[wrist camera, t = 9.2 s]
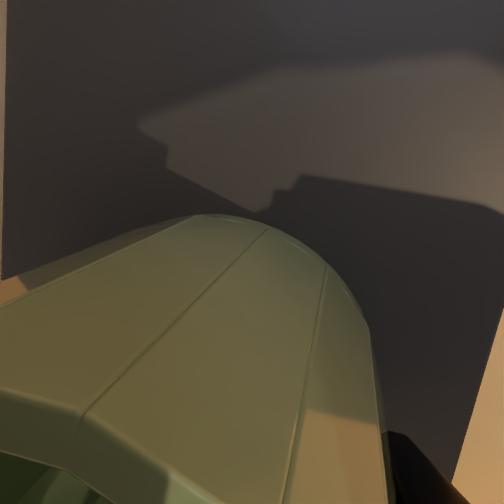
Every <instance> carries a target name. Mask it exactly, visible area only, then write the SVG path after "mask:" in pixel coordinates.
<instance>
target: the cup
mask: <svg viewBox="0 0 504 504" xmlns="http://www.w3.org/2000/svg"><path fill="white" fill-rule="evenodd" d="M0 504H397V501H396V493H395V486H394V478H393V471H392V463H391V456H390V448H389V441H388V433H387V426H386V418H385V411H384V403H383V396H382V388H381V383H380V378H379V374H378V369H377V364H376V358H375V350H374V345H373V341H372V337H371V334H370V330H369V327H368V324H367V322H366V319H365V317H364V315H363V313H362V310H361V308H360V306H359V304H358V302H357V301H356V299H355V298H354V296H353V294H352V293H351V291H350V289H349V288H348V286H347V285H346V284H345V283H344V281H343V280H342V279H341V278H340V276H339V275H338V274H337V273H336V271H335V270H334V269H333V268H332V267H331V266H330V265H329V264H328V263H327V262H326V261H325V260H323V259H322V258H321V257H320V256H319V255H318V254H317V253H316V252H314V251H313V250H311V249H310V248H309V247H307V246H306V245H305V244H303V243H302V242H301V241H299V240H297V239H295V238H294V237H292V236H290V235H288V234H286V233H285V232H283V231H281V230H279V229H276V228H274V227H271V226H269V225H266V224H264V223H261V222H258V221H254V220H250V219H246V218H242V217H238V216H230V215H222V214H195V215H189V216H182V217H176V218H173V219H169V220H166V221H163V222H159V223H156V224H154V225H149V226H145V227H141V228H137V229H134V230H131V231H129V232H126V233H124V234H121V235H119V236H116V237H114V238H111V239H109V240H106V241H103V242H101V243H98V244H96V245H93V246H91V247H88V248H86V249H83V250H80V251H78V252H75V253H73V254H70V255H68V256H65V257H63V258H60V259H58V260H55V261H52V262H50V263H47V264H45V265H42V266H40V267H37V268H35V269H32V270H29V271H27V272H24V273H22V274H19V275H17V276H14V277H12V278H9V279H7V280H4V281H1V282H0Z"/></svg>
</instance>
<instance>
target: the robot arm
mask: <svg viewBox="0 0 504 504" xmlns="http://www.w3.org/2000/svg"><path fill="white" fill-rule="evenodd" d="M387 433H388V441H389V448H390V456H391V463H392V471H393V478H394V486H395V493H396V501H397V504H470V503H469V502H468V501H467V500H466V499H465V498H464V497H463V496H462V495H461V494H460V492H459V491H458V490H457V489H456V488H455V487H454V486H453V485H452V484H451V483H450V482H449V481H448V479H447V478H446V477H445V476H444V475H443V474H442V473H441V472H440V471H439V470H438V469H437V468H436V466H435V465H434V464H433V463H432V462H431V461H430V460H429V459H428V458H427V457H426V456H425V455H424V453H423V452H422V451H421V450H420V449H419V448H418V447H417V446H416V445H415V444H414V443H413V442H412V440H411V439H410V438H409V437H408V436H407V435H405V434H401V433H397V432H393V431H389V430H387Z"/></svg>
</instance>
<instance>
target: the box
mask: <svg viewBox="0 0 504 504" xmlns="http://www.w3.org/2000/svg"><path fill="white" fill-rule="evenodd" d="M195 214H222V215H230V216H238V217H242V218H246V219H250V220H254V221H258V222H261V223H264V224H266V225H269V226H271V227H274V228H276V229H279V230H281V231H283V232H285V233H286V234H288V235H290V236H292V237H294V238H295V239H297V240H299V241H301V242H302V243H303V244H305V245H306V246H307V247H309V248H310V249H311V250H313V251H314V252H316V253H317V254H318V255H319V256H320V257H321V258H322V259H323V260H325V261H326V262H327V263H328V264H329V265H330V266H331V267H332V268H333V269H334V270H335V271H336V273H337V274H338V275H339V276H340V278H341V279H342V280H343V281H344V283H345V284H346V285H347V286H348V288H349V289H350V291H351V293H352V294H353V296H354V298H355V299H356V301H357V302H358V304H359V306H360V308H361V310H362V313H363V315H364V317H365V319H366V322H367V324H368V327H369V330H370V334H371V337H372V341H373V345H374V350H375V358H376V364H377V369H378V374H379V378H380V383H381V388H382V396H383V403H384V411H385V418H386V426H387V430H389V431H393V432H397V433H401V434H405V435H407V436H408V437H409V438H410V439H411V440H412V442H413V443H414V444H415V445H416V446H417V447H418V448H419V449H420V450H421V451H422V452H423V453H424V455H425V456H426V457H427V458H428V459H429V460H430V461H431V462H432V463H433V464H434V465H435V466H436V468H437V469H438V470H439V471H440V472H441V473H442V474H443V475H444V476H445V477H446V478H447V479H448V481H449V482H450V483H451V482H452V479H453V476H454V472H455V469H456V466H457V462H458V459H459V455H460V452H461V449H462V445H463V442H464V439H465V435H466V432H467V429H468V425H469V422H470V419H471V415H472V412H473V409H474V405H475V402H476V398H477V395H478V392H479V388H480V385H481V382H482V378H483V375H484V372H485V368H486V365H487V362H488V358H489V355H490V352H491V348H492V345H493V341H494V338H495V335H496V331H497V328H498V325H499V321H500V318H501V315H502V311H503V308H504V0H7V28H6V78H5V128H4V178H3V228H2V278H1V281H4V280H7V279H9V278H12V277H14V276H17V275H19V274H22V273H24V272H27V271H29V270H32V269H35V268H37V267H40V266H42V265H45V264H47V263H50V262H52V261H55V260H58V259H60V258H63V257H65V256H68V255H70V254H73V253H75V252H78V251H80V250H83V249H86V248H88V247H91V246H93V245H96V244H98V243H101V242H103V241H106V240H109V239H111V238H114V237H116V236H119V235H121V234H124V233H126V232H129V231H131V230H134V229H137V228H141V227H145V226H149V225H154V224H156V223H159V222H163V221H166V220H169V219H173V218H176V217H182V216H189V215H195Z"/></svg>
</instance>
